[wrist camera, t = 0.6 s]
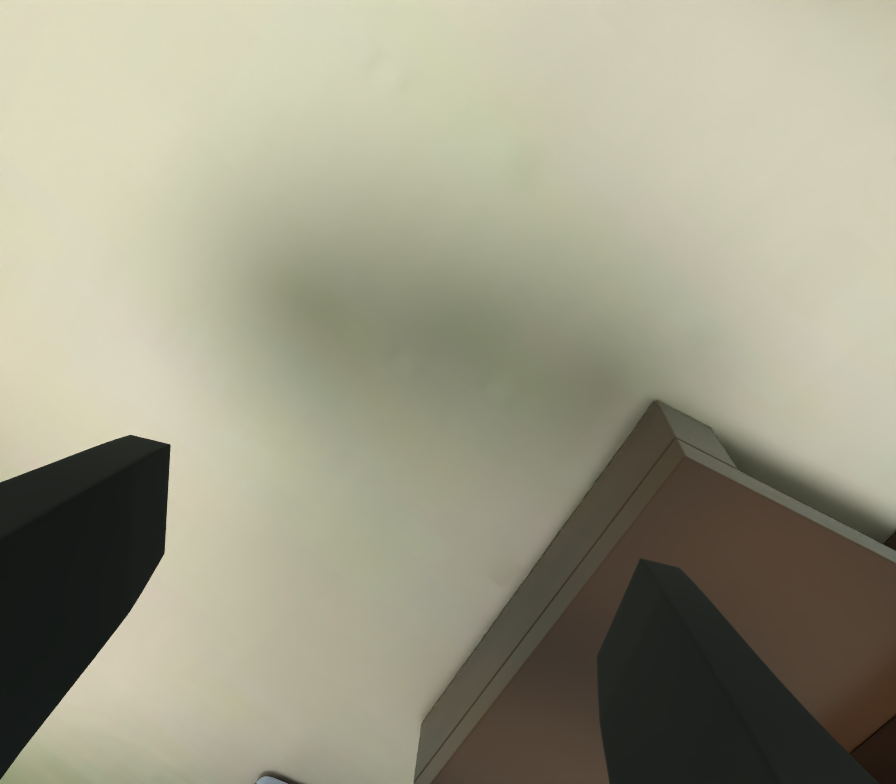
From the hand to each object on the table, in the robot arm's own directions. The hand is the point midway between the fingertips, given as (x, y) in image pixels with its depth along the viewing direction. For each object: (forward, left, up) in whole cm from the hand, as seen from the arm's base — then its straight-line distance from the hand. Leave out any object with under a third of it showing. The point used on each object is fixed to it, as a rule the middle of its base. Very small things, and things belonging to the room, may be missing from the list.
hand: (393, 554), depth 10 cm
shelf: (-7, -12, -10) cm, 17 cm away
